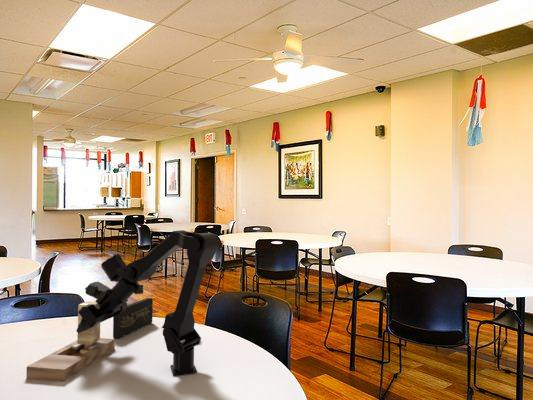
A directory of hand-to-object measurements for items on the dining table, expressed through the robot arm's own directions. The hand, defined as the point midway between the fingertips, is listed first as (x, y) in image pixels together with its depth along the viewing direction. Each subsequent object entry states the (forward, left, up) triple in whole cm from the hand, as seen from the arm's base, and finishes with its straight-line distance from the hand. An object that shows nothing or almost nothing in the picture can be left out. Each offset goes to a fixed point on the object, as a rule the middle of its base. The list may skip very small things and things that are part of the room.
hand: (86, 327), depth 123 cm
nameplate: (+20, -15, -8) cm, 26 cm away
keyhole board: (-6, +2, -8) cm, 10 cm away
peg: (0, -1, -8) cm, 8 cm away
